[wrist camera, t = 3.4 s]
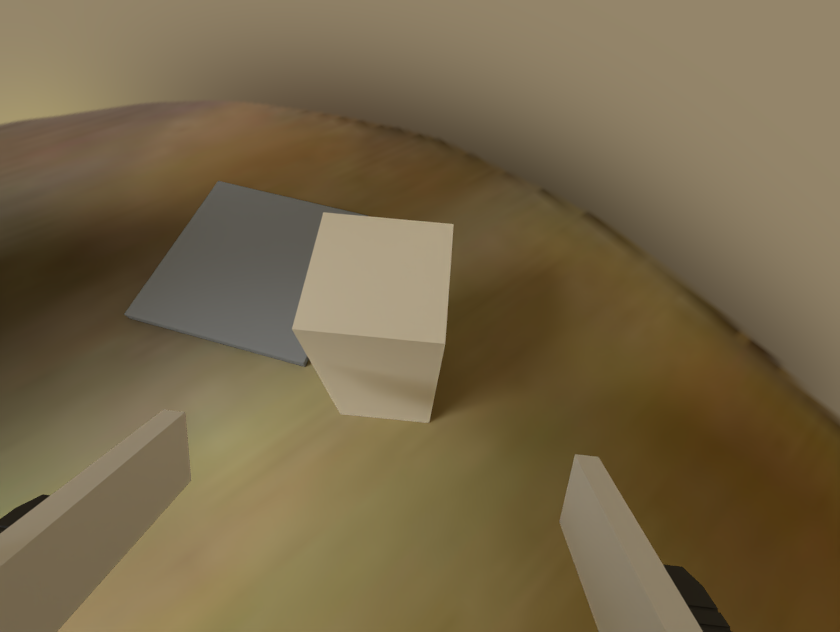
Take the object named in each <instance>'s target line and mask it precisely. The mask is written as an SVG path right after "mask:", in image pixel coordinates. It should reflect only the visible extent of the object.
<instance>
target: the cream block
mask: <svg viewBox="0 0 840 632" xmlns="http://www.w3.org/2000/svg"><path fill="white" fill-rule="evenodd" d="M453 225H454V224H446V223H435V222H424V221H413V220H402V219H391V218H380V217H369V216H358V215H347V214H336V213H325V212H323V215H322V219H321V223H320V227H319V230H318V234H317V238H316V241H315V245H314V249H313V252H312V256H311V260H310V264H309V267H308V271H307V275H306V278H305V282H304V286H303V290H302V293H301V297H300V301H299V304H298V308H297V312H296V316H295V319H294V323H293V327H292V330H293V332H294V334H295V335H296V337H297V339H298V341H299V342H300V344H301V346H302V348H303V349H304V351H305V353H306V355H307V356H308V358H309V360H310V362H311V363H312V365H313V367H314V369H315V370H316V372H317V374H318V376H319V377H320V379H321V381H322V383H323V384H324V386H325V388H326V390H327V391H328V393H329V395H330V397H331V398H332V400H333V402H334V404H335V405H336V407H337V409H338V411H339V412H340V414H345V415H355V416H365V417H375V418H385V419H395V420H405V421H415V422H425V423H429V421H430V416H431V411H432V407H433V402H434V397H435V392H436V387H437V382H438V377H439V372H440V367H441V362H442V357H443V352H444V348H445V340H446V326H447V311H448V297H449V283H450V268H451V254H452V240H453Z"/></svg>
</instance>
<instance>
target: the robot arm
mask: <svg viewBox="0 0 840 632" xmlns="http://www.w3.org/2000/svg"><path fill="white" fill-rule="evenodd" d="M190 481H191V472H190V460H189V449H188V437H187V426H186V414H185V412H181V411H171V410H162V411H161V412H159V413H158V414H157V415H155V416H154V417H153V418H151V419H150V420H149V421H148V422H146V423H145V424H144V425H142V426H141V427H140V428H138V429H137V430H136V431H134V432H133V433H132V434H130V435H129V436H128V437H127V438H125V439H124V440H123V441H121V442H120V443H119V444H117V445H116V446H115V447H113V448H112V449H111V450H109V451H108V452H107V453H106V454H104V455H103V456H102V457H100V458H99V459H98V460H96V461H95V462H94V463H92V464H91V465H90V466H88V467H87V468H86V469H84V470H83V471H82V472H81V473H79V474H78V475H77V476H75V477H74V478H73V479H71V480H70V481H69V482H67V483H66V484H65V485H63V486H62V487H61V488H60V489H58V490H57V491H56V492H54V493H53V494H52V495H41V496H39V497H37V498H35V499H33V500H31V501H29V502H27V503H25V504H23V505H21V506H19V507H17V508H15V509H14V510H12V511H11V512H9V513H8V514H7V515H5V516H4V517H3V518H1V519H0V632H57V631H58V630H59V629H60V628H61V627H62V625H63V624H64V623H65V622H66V621H67V620H68V619H69V618H70V616H71V615H72V614H73V613H74V612H75V611H76V610H77V609H78V607H79V606H80V605H81V604H82V603H83V602H84V601H85V599H86V598H87V597H88V596H89V595H90V594H91V593H92V592H93V590H94V589H95V588H96V587H97V586H98V585H99V584H100V583H101V581H102V580H103V579H104V578H105V577H106V576H107V575H108V574H109V572H110V571H111V570H112V569H113V568H114V567H115V566H116V565H117V563H118V562H119V561H120V560H121V559H122V558H123V557H124V556H125V554H126V553H127V552H128V551H129V550H130V549H131V548H132V547H133V545H134V544H135V543H136V542H137V541H138V540H139V539H140V538H141V536H142V535H143V534H144V533H145V532H146V531H147V530H148V528H149V527H150V526H151V525H152V524H153V523H154V522H155V521H156V519H157V518H158V517H159V516H160V515H161V514H162V513H163V512H164V510H165V509H166V508H167V507H168V506H169V505H170V504H171V503H172V501H173V500H174V499H175V498H176V497H177V496H178V495H179V494H180V492H181V491H182V490H183V489H184V488H185V487H186V486H187V485H188V483H189V482H190ZM559 522H560V525H561V528H562V531H563V533H564V536H565V539H566V542H567V544H568V547H569V550H570V553H571V556H572V558H573V561H574V564H575V567H576V570H577V572H578V575H579V578H580V581H581V584H582V586H583V589H584V592H585V595H586V597H587V600H588V603H589V606H590V609H591V611H592V614H593V617H594V620H595V623H596V625H597V628H598V631H599V632H731V631H730V626H729V625H728V623H727V622H726V620H725V619H724V617H723V616H722V614H721V613H718V610H717V609H718V608H717V607H716V605H715V604H714V602H713V601H712V599H711V598H710V596H709V595H708V593H707V592H706V590H705V589H704V587H703V586H702V585H701V584H700V583H699V582H698V581H697V580H695V579H694V578H693V577H692V576H691V575H690V574H689V573H688V572H687V571H686V570H685V569H684V568H683V567H679V566H670V565H663V564H662V562H661V561H660V559H659V557H658V556H657V554H656V552H655V551H654V549H653V547H652V546H651V544H650V542H649V541H648V539H647V537H646V536H645V534H644V532H643V531H642V529H641V527H640V526H639V524H638V522H637V521H636V519H635V517H634V516H633V514H632V512H631V511H630V509H629V507H628V506H627V504H626V502H625V501H624V499H623V497H622V496H621V494H620V492H619V490H618V489H617V487H616V485H615V484H614V482H613V480H612V479H611V477H610V475H609V474H608V472H607V470H606V469H605V467H604V465H603V464H602V462H601V460H600V459H599V457H596V456H587V455H577V454H575V456H574V461H573V465H572V469H571V474H570V478H569V482H568V487H567V491H566V495H565V500H564V504H563V508H562V513H561V517H560V521H559Z"/></svg>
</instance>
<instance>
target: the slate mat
mask: <svg viewBox="0 0 840 632" xmlns="http://www.w3.org/2000/svg"><path fill="white" fill-rule="evenodd" d="M323 212H325V213H336V214H347V215H358V216H367V215H363V214H359V213H354V212H350V211H346V210H341V209H337V208H333V207H328V206H324V205H320V204H315V203H311V202H307V201H303V200H298V199H294V198H290V197H285V196H281V195H277V194H272V193H268V192H264V191H259V190H255V189H251V188H247V187H242V186H238V185H234V184H229V183H225V182H221V181H218V182H217V183H216V185H215V186H214V188H213V189H212V190H211V192H210V193H209V195H208V196H207V198H206V199H205V200H204V202H203V203H202V205H201V206H200V207H199V209H198V210H197V212H196V213H195V215H194V216H193V217H192V219H191V220H190V222H189V223H188V224H187V226H186V227H185V229H184V230H183V231H182V233H181V234H180V236H179V237H178V239H177V240H176V241H175V243H174V244H173V246H172V247H171V248H170V250H169V251H168V253H167V254H166V256H165V257H164V258H163V260H162V261H161V263H160V264H159V265H158V267H157V268H156V270H155V271H154V273H153V274H152V275H151V277H150V278H149V280H148V281H147V282H146V284H145V285H144V287H143V288H142V289H141V291H140V292H139V294H138V295H137V297H136V298H135V299H134V301H133V302H132V304H131V305H130V306H129V308H128V309H127V311H126V312H125V314H124V315H125V316H127V317H128V318H130V319H134V320H137V321H141V322H145V323H148V324H152V325H156V326H159V327H163V328H166V329H170V330H174V331H177V332H181V333H185V334H188V335H192V336H195V337H199V338H203V339H206V340H210V341H213V342H217V343H221V344H224V345H228V346H232V347H235V348H239V349H242V350H246V351H250V352H253V353H257V354H261V355H264V356H268V357H271V358H275V359H279V360H282V361H286V362H290V363H293V364H297V365H300V366H304V367H305V366H306V364H307V361H308V359H309V358H308V356H307V355H306V353H305V351H304V349H303V348H302V346H301V344H300V342H299V341H298V339H297V337H296V335H295V334H294V332H293V330H292V327H293V323H294V319H295V316H296V312H297V308H298V304H299V301H300V297H301V293H302V290H303V286H304V282H305V278H306V275H307V271H308V267H309V264H310V260H311V256H312V252H313V249H314V245H315V241H316V238H317V234H318V230H319V227H320V223H321V219H322V215H323Z"/></svg>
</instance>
